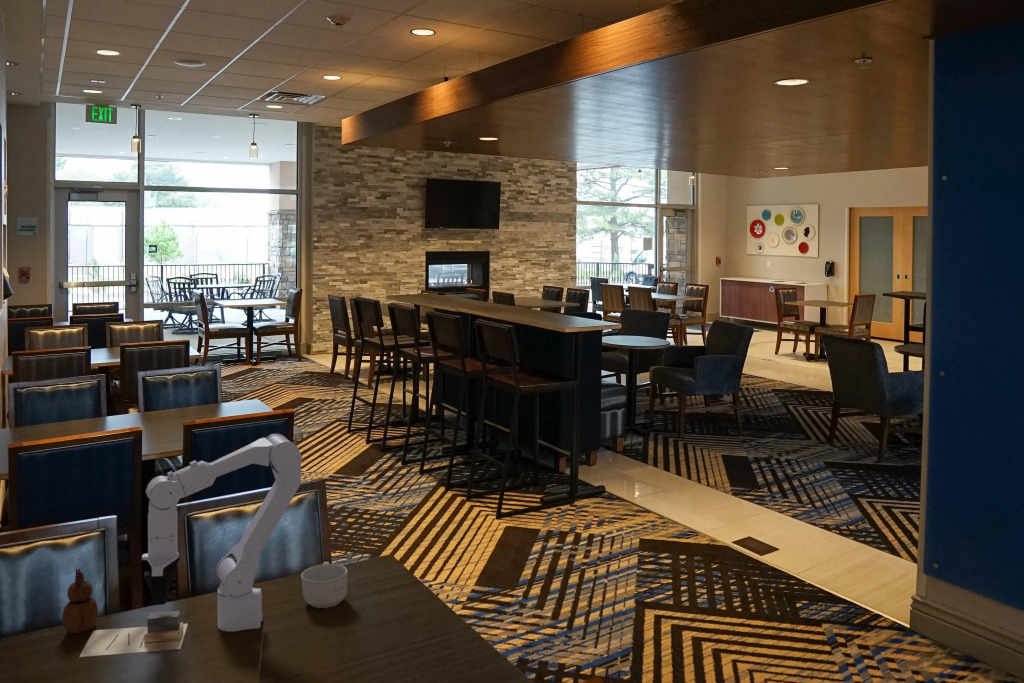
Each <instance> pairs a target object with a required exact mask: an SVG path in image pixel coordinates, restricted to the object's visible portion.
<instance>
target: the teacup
mask: <svg viewBox="0 0 1024 683" xmlns="http://www.w3.org/2000/svg"><path fill="white" fill-rule="evenodd" d="M348 573H349V572H348V568H347V567H345V566H344V565H343V564H342V565H341V564H336V563H330V562H329V561H324V562H322V564H318V565H314V566H311V567H309V568H306V569H304V570H303V571H302V572H301V573H300V578H301V586H302V596H303V599H304V601H305V602H306V603H307V604H308V605H310V606H312V607H313V608H315V607H316V609H320V608H325V609H330V608H329V607H331V608H333V606H334V607H336V606H337V605H339V604H340V603H341V602H342V601H343V600H344V599H345V598H346V596H347V594H348Z"/></svg>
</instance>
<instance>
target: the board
mask: <svg viewBox="0 0 1024 683" xmlns="http://www.w3.org/2000/svg"><path fill="white" fill-rule="evenodd" d="M188 625H189V624H188V623H183V633H182V637H181V640H180V641H171V642H158V643H145V644H144V634H145V631H146V629H147V626H136V627H124V628H123V627H122V628H109V629H94V630H93V631H92V633H91V634H90V637H89V638H88V640H87V642H86V644H85V645H84V648H83V649H82V651H81V653H80V655H79V657H78V658H85V657H87V658H88V657H96V656H97V657H98V656H110V655H111V656H112V655H124V654H125V655H126V654H136V653H148V652H150V653H151V652H161V651H170V650H171V651H173V650H181V648H182V644H183V641H184V638H185V636H186V631H187V630H188V629H187V628H188Z"/></svg>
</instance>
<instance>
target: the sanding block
mask: <svg viewBox="0 0 1024 683" xmlns="http://www.w3.org/2000/svg"><path fill="white" fill-rule="evenodd" d="M146 621H147V622H146V623H147V625H146V627H147V629H146V631H145V634H144V644H145V643H158V642H171V641H180V640H181V637H182V633H183V624H184V622H183V621H182V622H181V610H173V611H171V610H170V611H155V612H149V614H148V616H147V620H146Z"/></svg>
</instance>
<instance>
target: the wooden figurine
mask: <svg viewBox="0 0 1024 683" xmlns="http://www.w3.org/2000/svg"><path fill="white" fill-rule="evenodd" d="M74 580H75V581H74V582H72V583H71V584H70V585H69V587H68V589H67V599H68V602H67V604H66V605H65V606H64V607H63V611H62V623H63V627H64V629H65V631H66V633H69V634H81V633H82V634H83V633H85V632H88V631H90V630H92V629H93V628H94V627H95V626H96V624H97V619H98V615H99V613H98V612H99V609H98V604H97V600H96V599H95V598H94V597H93V596H92V595H93V586H92V583H91V582H90V581H86V580H85V577H84V573H82V571H81V569H80V568H76V569H75V579H74Z"/></svg>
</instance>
